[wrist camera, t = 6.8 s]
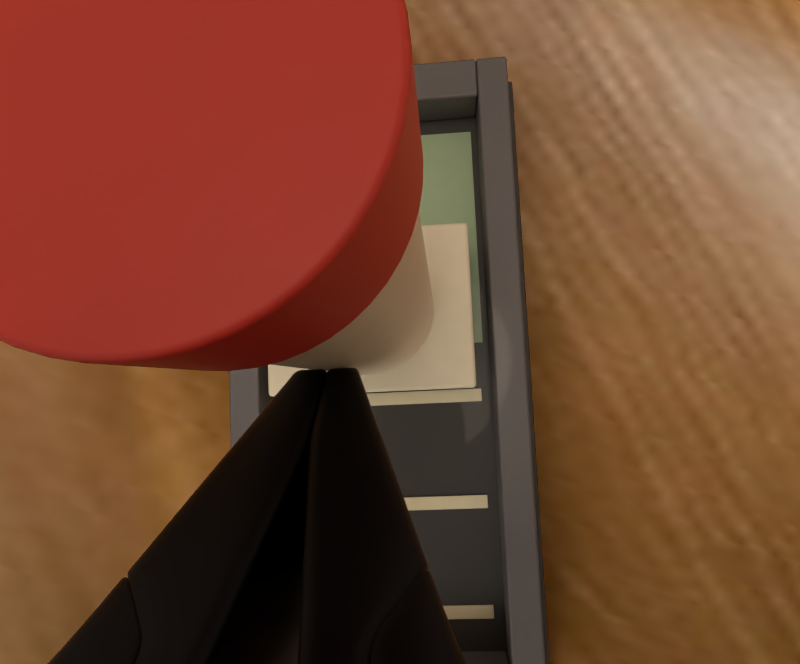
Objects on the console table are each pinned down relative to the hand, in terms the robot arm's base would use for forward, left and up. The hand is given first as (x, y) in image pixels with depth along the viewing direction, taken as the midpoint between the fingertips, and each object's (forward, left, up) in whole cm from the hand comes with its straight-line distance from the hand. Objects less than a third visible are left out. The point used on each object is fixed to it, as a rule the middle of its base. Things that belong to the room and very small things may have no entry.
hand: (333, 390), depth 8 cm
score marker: (+1, -1, -7) cm, 7 cm away
